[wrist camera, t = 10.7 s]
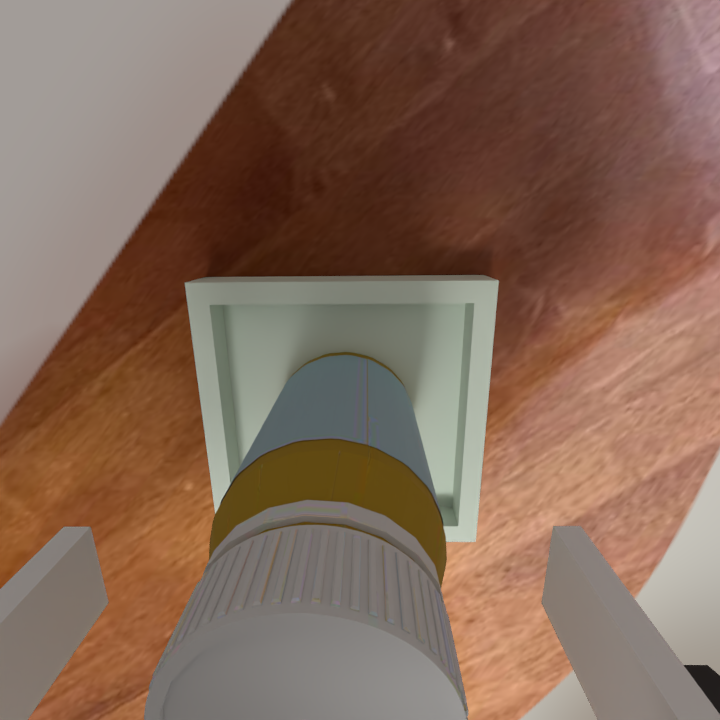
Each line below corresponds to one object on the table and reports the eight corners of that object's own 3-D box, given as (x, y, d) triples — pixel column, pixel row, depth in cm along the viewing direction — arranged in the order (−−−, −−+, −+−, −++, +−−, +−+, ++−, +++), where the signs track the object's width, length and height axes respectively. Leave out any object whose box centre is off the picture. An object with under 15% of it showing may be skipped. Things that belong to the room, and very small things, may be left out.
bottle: (292, 335, 21) (130, 554, 7) (426, 365, 21) (548, 635, 7) (270, 454, 23) (109, 822, 9) (393, 480, 23) (434, 875, 9)
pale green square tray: (233, 511, 25) (218, 541, 23) (205, 277, 21) (184, 282, 19) (465, 512, 25) (475, 541, 22) (483, 274, 21) (498, 280, 18)
